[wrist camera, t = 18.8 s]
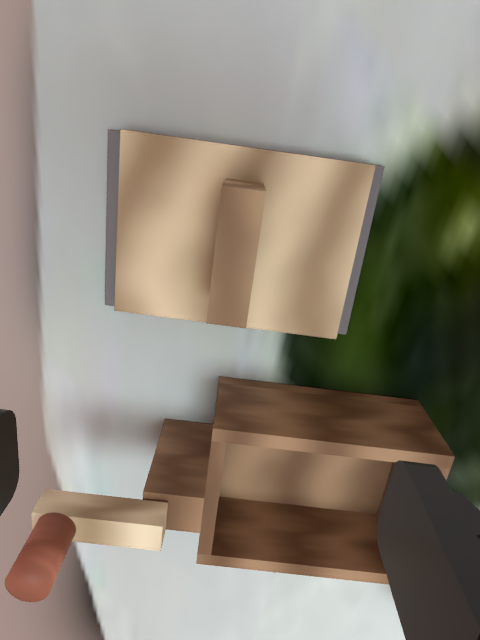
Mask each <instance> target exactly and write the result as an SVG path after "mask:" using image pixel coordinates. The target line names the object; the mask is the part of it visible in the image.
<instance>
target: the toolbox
mask: <svg viewBox="0 0 480 640" xmlns="http://www.w3.org/2000/svg"><path fill="white" fill-rule="evenodd" d="M454 458H455V456H454V454H453V453H452V451H451V450H450V448H449V447H448V445H447V444H446V442H445V441H444V439H443V438H442V436H441V434H440V433H439V431H438V430H437V428H436V427H435V425H434V424H433V422H432V421H431V419H430V418H429V416H428V414H427V413H426V411H425V410H424V408H423V407H422V405H421V404H420V402H419V401H418V400H412V399H403V398H395V397H387V396H378V395H370V394H361V393H353V392H345V391H336V390H328V389H320V388H311V387H303V386H295V385H286V384H278V383H270V382H261V381H253V380H245V379H236V378H228V377H220V376H219V384H218V392H217V400H216V408H215V416H214V424H206V423H197V422H189V421H180V420H172V419H165V421H164V424H163V428H162V431H161V434H160V438H159V441H158V444H157V448H156V451H155V454H154V458H153V461H152V464H151V468H150V471H149V474H148V478H147V481H146V484H145V488H144V491H143V500H148V501H157V502H166V503H168V510H167V521H166V529H168V530H177V531H187V532H196V533H200V537H199V546H198V554H197V562H196V564H205V565H214V566H223V567H232V568H242V569H251V570H260V571H269V572H279V573H288V574H297V575H307V576H316V577H325V578H334V579H344V580H353V581H362V582H371V583H381V584H389V582H388V578H387V575H386V571H385V568H384V565H383V561H382V558H381V555H380V551H379V548H378V543H377V520H378V515H379V512H380V508H381V505H382V502H383V499H384V495H385V492H386V489H387V486H388V482H389V479H390V476H391V473H392V469H393V467H394V465H395V463H396V462H397V461H399V460H401V461H409V462H417V463H425V464H433V465H436V466H437V467H438V468H439V469H440V471H441V472H442V474H443V476H444V478H445V480H447V477H448V474H449V471H450V469H451V466H452V463H453V460H454Z"/></svg>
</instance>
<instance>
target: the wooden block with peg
mask: <svg viewBox="0 0 480 640" xmlns="http://www.w3.org/2000/svg"><path fill="white" fill-rule="evenodd" d="M167 510H168V503H166V502H157V501H148V500H139V499H130V498H121V497H112V496H103V495H94V494H85V493H76V492H67V491H59V490H50V489H45V490H44V492H43V494H42V495H41V497H40V499H39V501H38V502H37V504H36V505H35V507H34V509H33V511H32V512H31V513H32V532H31V534H30V536H29V537H28V540H27V541H26V543H25V545H24V546H23V548H22V550H21V552H20V554H19V555H18V557H17V559H16V561H15V563H14V564H13V566H12V568H11V570H10V572H9V574H8V575H7V577H6V579H5V586H6V589H7V591H8V592H9V593H10V594H11V595H12V596H14V597H15V598H17V599H19V600H22V601H26V602H37V601H41V600H43V599H45V598H46V597H47V596H48V594H49V592H50V590H51V588H52V585H53V583H54V581H55V579H56V576H57V574H58V572H59V569H60V567H61V565H62V563H63V560H64V558H65V556H66V554H67V551H68V549H69V547H70V545H71V542H72V541H74V542H83V543H93V544H102V545H111V546H120V547H129V548H139V549H148V550H157V551H161V547H162V543H163V538H164V533H165V529H166V521H167Z"/></svg>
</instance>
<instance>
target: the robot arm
mask: <svg viewBox="0 0 480 640" xmlns="http://www.w3.org/2000/svg"><path fill="white" fill-rule="evenodd" d="M18 478H19V458H18V442H17V427H16V417H15V414H14V413H13V411H11V410H2V409H0V516H1V514H2V513H3V511H4V510H5V508H6V507H7V505H8V504H9V502H10V501H11V499H12V497H13V495H14V492H15V490H16V487H17V483H18ZM377 543H378V548H379V551H380V555H381V558H382V561H383V565H384V568H385V571H386V575H387V578H388V582H389V585H390V588H391V592H392V595H393V598H394V602H395V605H396V608H397V612H398V615H399V618H400V622H401V625H402V628H403V632H404V635H405V639H406V640H480V510H479V509H478V508H477V507H475V506H474V505H473V504H472V503H471V502H470V501H469V500H468V499H467V498H466V497H465V496H464V495H463V494H462V493H454V492H452V490H451V489H450V487H449V485H448V483H447V481H446V480H445V478H444V476H443V474H442V472H441V471H440V469H439V468H438V467H437V466H436V465H433V464H425V463H417V462H409V461H401V460H399V461H397V462H396V463H395V465H394V467H393V469H392V473H391V476H390V479H389V482H388V486H387V489H386V492H385V495H384V499H383V502H382V505H381V508H380V512H379V515H378V520H377Z"/></svg>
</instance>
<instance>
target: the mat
mask: <svg viewBox="0 0 480 640" xmlns="http://www.w3.org/2000/svg"><path fill="white" fill-rule="evenodd" d="M119 158H120V131H115V130H108V161H107V216H106V271H105V305H110V306H115V278H116V248H117V218H118V188H119ZM383 171H384V167H383V166H376V167H375V171H374V175H373V180H372V184H371V189H370V193H369V197H368V202H367V206H366V210H365V215H364V219H363V224H362V228H361V232H360V237H359V241H358V245H357V250H356V254H355V259H354V263H353V267H352V272H351V276H350V280H349V285H348V289H347V294H346V298H345V302H344V307H343V311H342V315H341V320H340V324H339V329H338V333H337V334H345V335H346V333H347V328H348V324H349V319H350V315H351V311H352V306H353V302H354V298H355V293H356V289H357V285H358V280H359V276H360V271H361V267H362V263H363V258H364V254H365V250H366V245H367V241H368V237H369V232H370V228H371V223H372V219H373V215H374V210H375V206H376V202H377V197H378V193H379V189H380V184H381V180H382V175H383Z"/></svg>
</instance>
